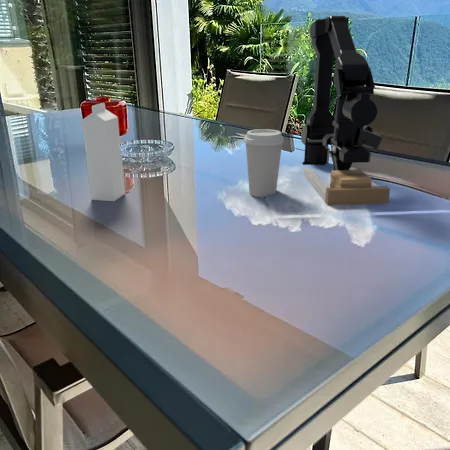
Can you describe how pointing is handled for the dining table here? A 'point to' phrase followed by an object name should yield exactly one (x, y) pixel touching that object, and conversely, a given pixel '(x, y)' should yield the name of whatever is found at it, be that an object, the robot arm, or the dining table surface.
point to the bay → (347, 191)
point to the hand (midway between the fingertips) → (341, 181)
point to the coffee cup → (263, 160)
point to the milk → (103, 154)
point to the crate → (349, 179)
